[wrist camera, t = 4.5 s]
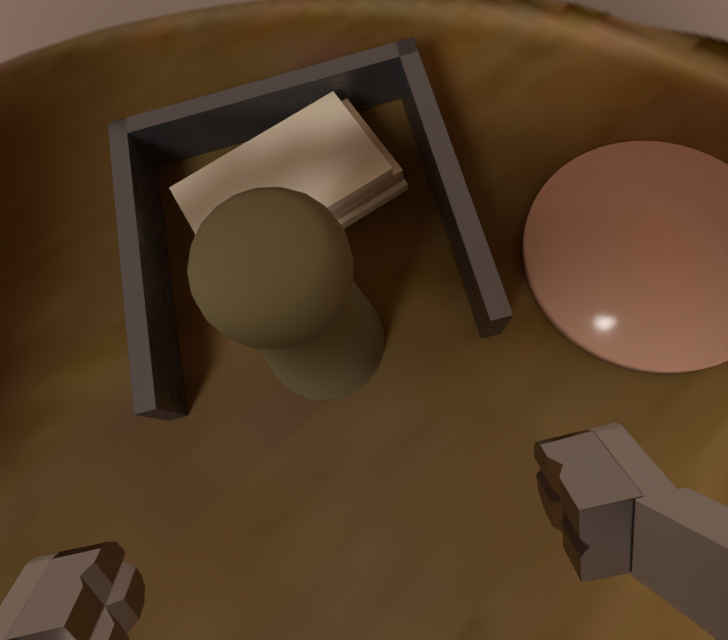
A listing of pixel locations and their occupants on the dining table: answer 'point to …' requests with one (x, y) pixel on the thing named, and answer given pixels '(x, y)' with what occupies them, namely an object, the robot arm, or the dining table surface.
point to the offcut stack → (303, 165)
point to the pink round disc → (634, 255)
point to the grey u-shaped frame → (240, 124)
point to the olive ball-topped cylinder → (287, 290)
